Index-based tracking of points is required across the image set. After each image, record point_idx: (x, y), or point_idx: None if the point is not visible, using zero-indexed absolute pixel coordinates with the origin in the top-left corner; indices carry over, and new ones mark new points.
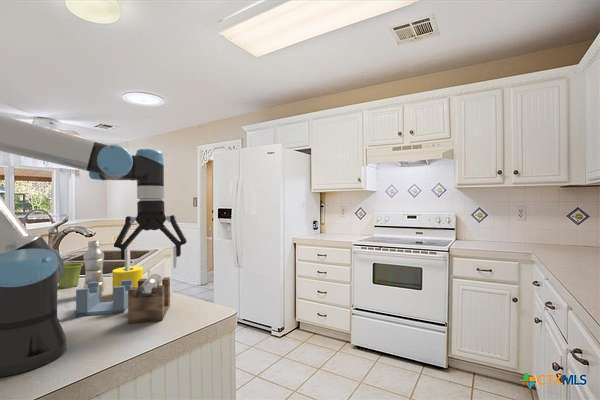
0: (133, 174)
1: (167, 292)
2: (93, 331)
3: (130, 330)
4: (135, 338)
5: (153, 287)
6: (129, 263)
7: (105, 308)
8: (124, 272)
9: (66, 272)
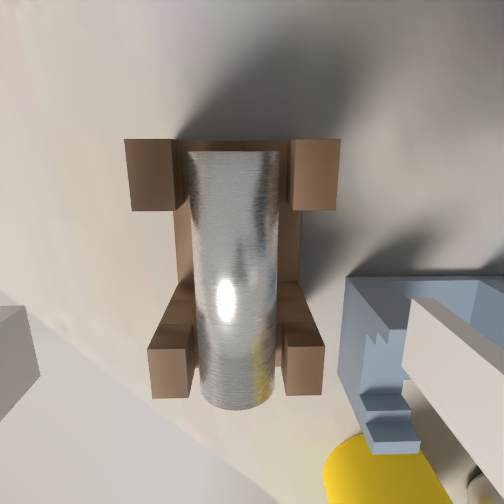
0: None
1: (170, 310)
2: (413, 92)
3: (274, 61)
4: None
5: (188, 165)
6: (434, 382)
7: None
8: None
9: None
